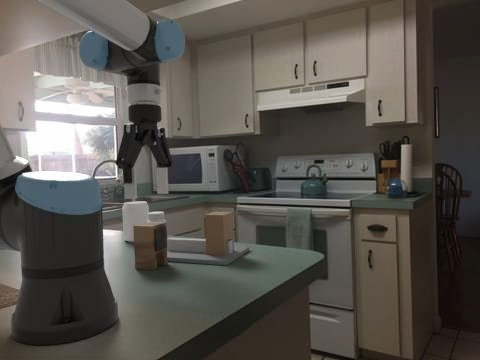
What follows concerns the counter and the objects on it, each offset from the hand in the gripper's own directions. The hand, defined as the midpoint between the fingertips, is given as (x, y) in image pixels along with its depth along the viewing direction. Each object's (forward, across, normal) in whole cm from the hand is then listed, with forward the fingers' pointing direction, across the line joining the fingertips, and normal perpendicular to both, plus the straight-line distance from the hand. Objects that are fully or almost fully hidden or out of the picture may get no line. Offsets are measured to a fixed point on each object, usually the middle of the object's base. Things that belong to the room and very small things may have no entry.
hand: (147, 196), depth 98 cm
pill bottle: (+17, +20, +10) cm, 28 cm away
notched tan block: (+17, 0, 0) cm, 17 cm away
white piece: (+16, +27, +22) cm, 39 cm away
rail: (+16, +13, -7) cm, 22 cm away
